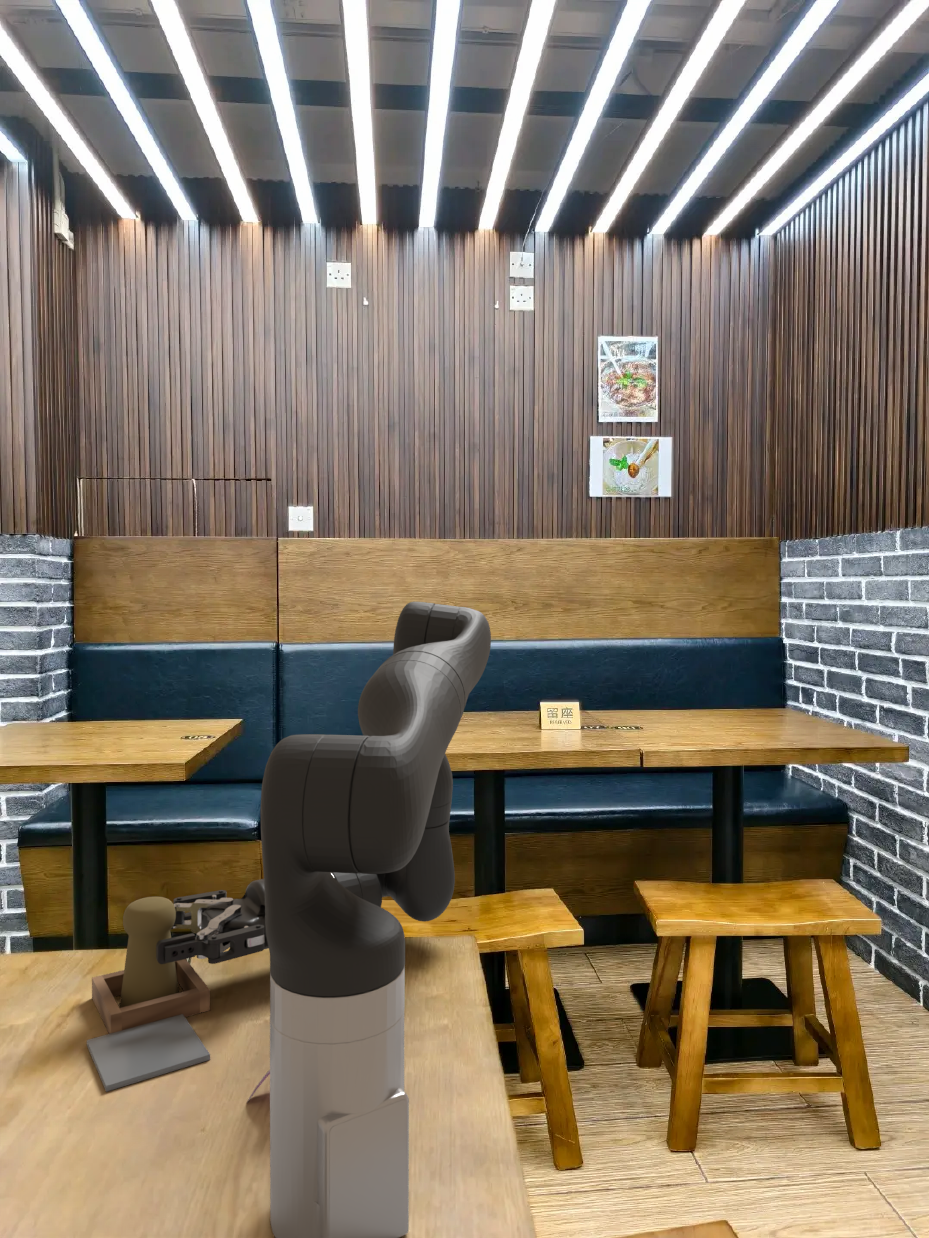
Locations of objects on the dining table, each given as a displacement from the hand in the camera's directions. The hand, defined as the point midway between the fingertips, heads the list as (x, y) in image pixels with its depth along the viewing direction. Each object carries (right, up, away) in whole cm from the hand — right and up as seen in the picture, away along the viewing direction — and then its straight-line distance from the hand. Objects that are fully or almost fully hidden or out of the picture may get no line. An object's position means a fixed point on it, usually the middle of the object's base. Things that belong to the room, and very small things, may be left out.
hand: (146, 938), depth 87 cm
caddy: (0, -7, 0) cm, 7 cm away
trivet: (+3, -7, -9) cm, 12 cm away
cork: (0, -7, 0) cm, 7 cm away
